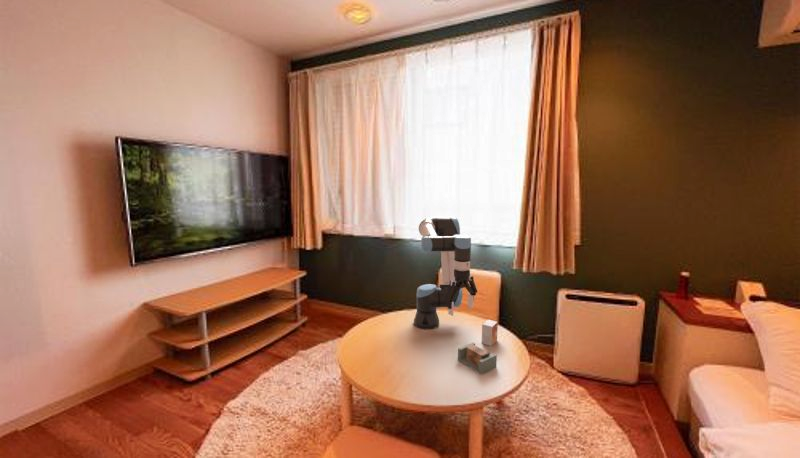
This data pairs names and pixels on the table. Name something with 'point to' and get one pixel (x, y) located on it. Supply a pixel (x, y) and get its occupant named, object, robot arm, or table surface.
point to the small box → (489, 332)
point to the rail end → (475, 354)
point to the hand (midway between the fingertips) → (460, 311)
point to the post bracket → (484, 363)
